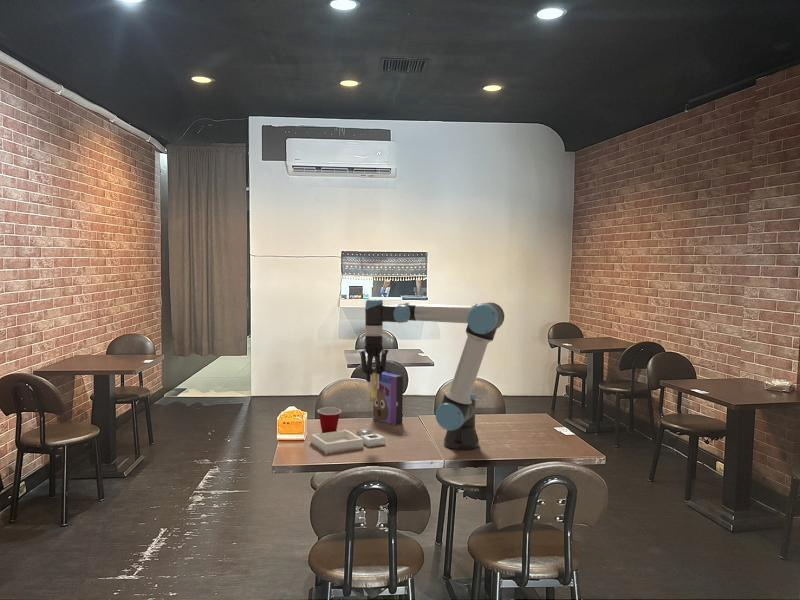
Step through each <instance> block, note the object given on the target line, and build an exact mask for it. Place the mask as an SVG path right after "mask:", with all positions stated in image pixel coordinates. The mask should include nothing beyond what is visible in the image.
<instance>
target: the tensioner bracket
mask: <svg viewBox="0 0 800 600" xmlns="http://www.w3.org/2000/svg"><path fill="white" fill-rule="evenodd" d="M355 433H356V434H355V435H357V436H359V437H361V438H362V439H364V441H363V446H364V445H365V446H366V447H368V448H370V447H377V446H384V445H386V437H385V436H383V435H381V434H378V433H373V430H372V429H369V428H360V429H357V430H356V431H355Z"/></svg>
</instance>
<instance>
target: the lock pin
mask: <svg viewBox="0 0 800 600" xmlns="http://www.w3.org/2000/svg"><path fill="white" fill-rule="evenodd" d="M377 371H378V368H376V366H375V367H374V366H372V368H371V374H372V390H370V389H369V402H376V401H377Z"/></svg>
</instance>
